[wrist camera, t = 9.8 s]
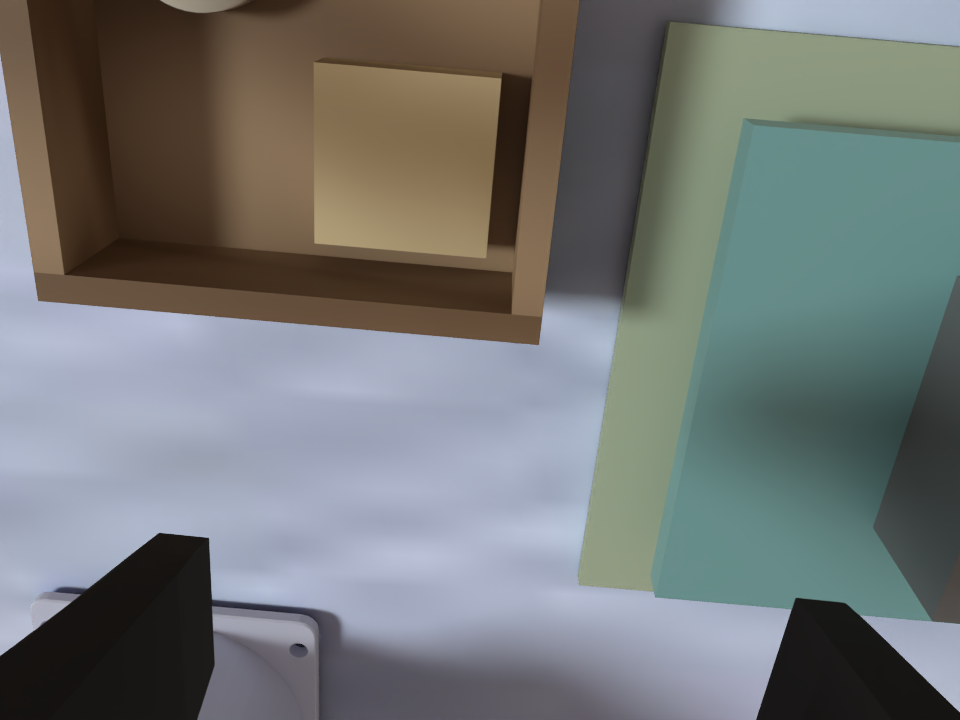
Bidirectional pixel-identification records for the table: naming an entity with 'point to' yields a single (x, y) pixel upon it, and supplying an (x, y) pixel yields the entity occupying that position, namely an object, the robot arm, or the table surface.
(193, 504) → the table surface
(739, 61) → the felt mat
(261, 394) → the table surface
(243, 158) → the storage box
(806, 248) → the lid
